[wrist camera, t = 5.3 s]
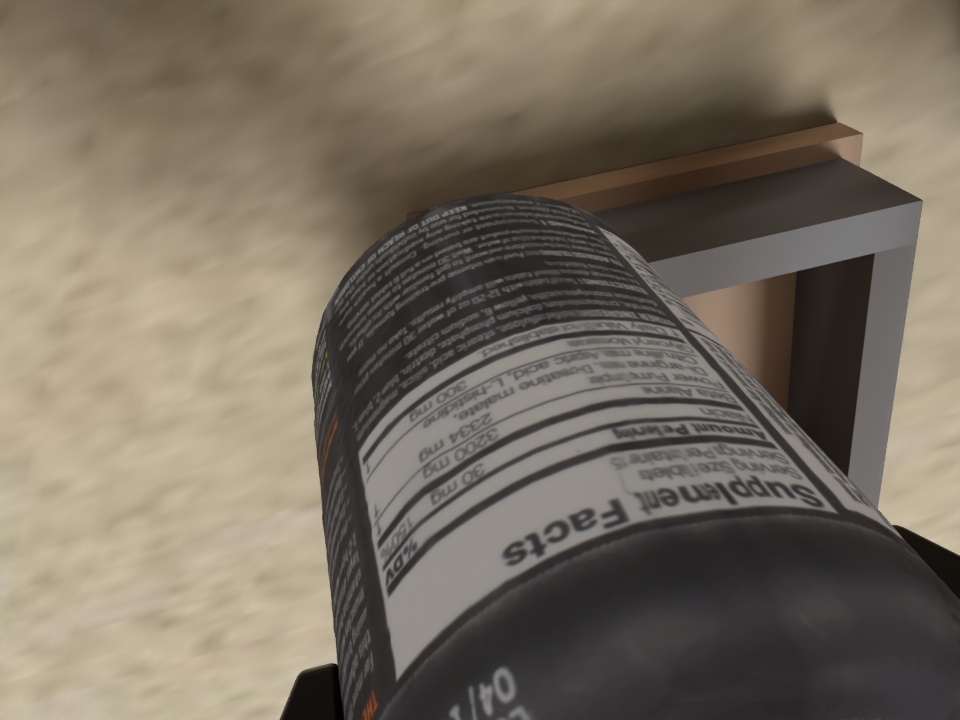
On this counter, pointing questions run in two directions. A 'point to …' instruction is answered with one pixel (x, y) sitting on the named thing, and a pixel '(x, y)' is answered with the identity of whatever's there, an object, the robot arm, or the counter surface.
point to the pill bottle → (590, 500)
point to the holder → (782, 271)
